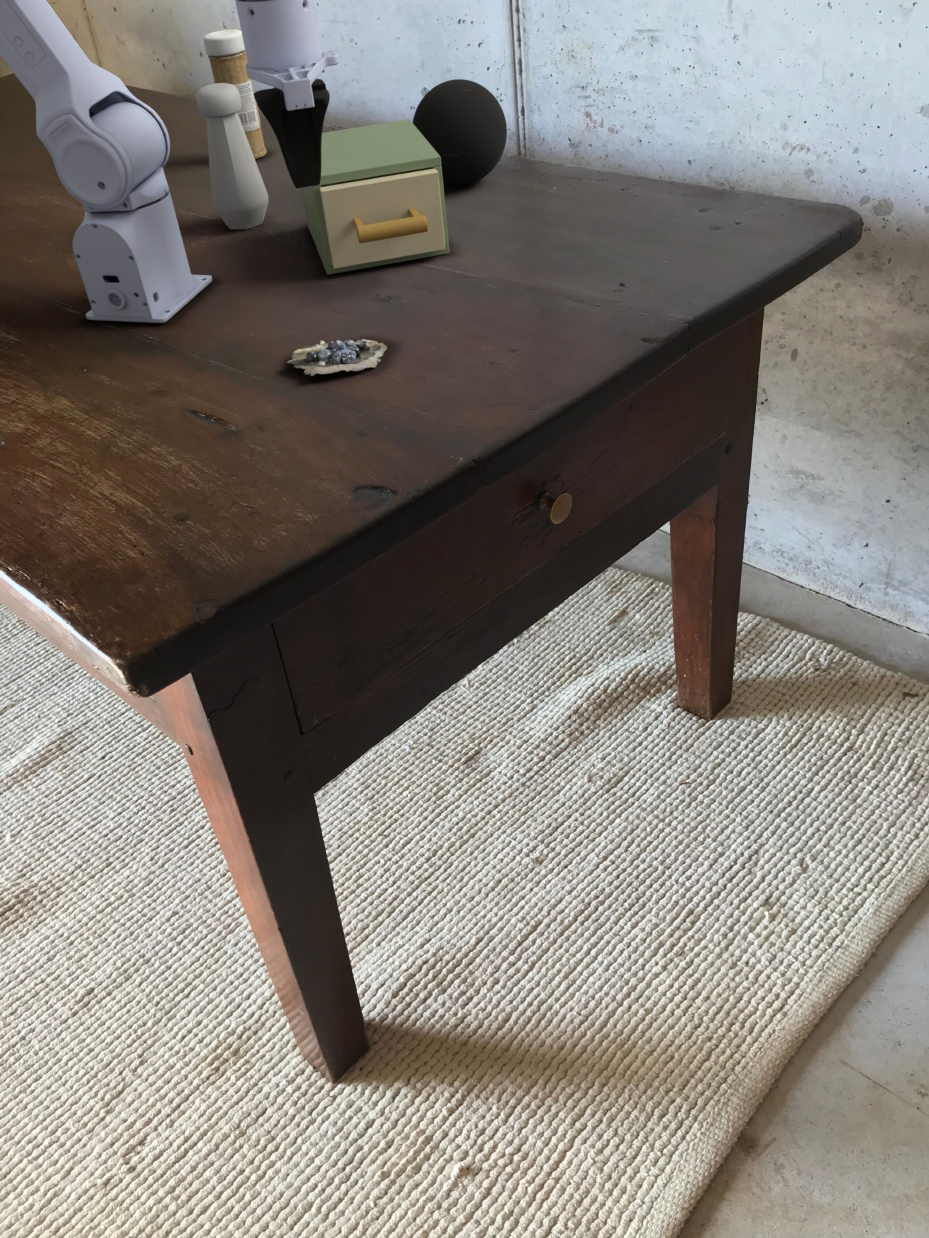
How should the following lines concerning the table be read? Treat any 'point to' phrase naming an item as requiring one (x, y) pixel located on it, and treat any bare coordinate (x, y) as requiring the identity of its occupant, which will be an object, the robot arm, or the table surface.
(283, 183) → the table surface
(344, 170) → the cabinet
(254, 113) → the sprinkles bottle
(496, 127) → the black sphere
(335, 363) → the blueberries
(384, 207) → the drawer
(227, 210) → the salt shaker
